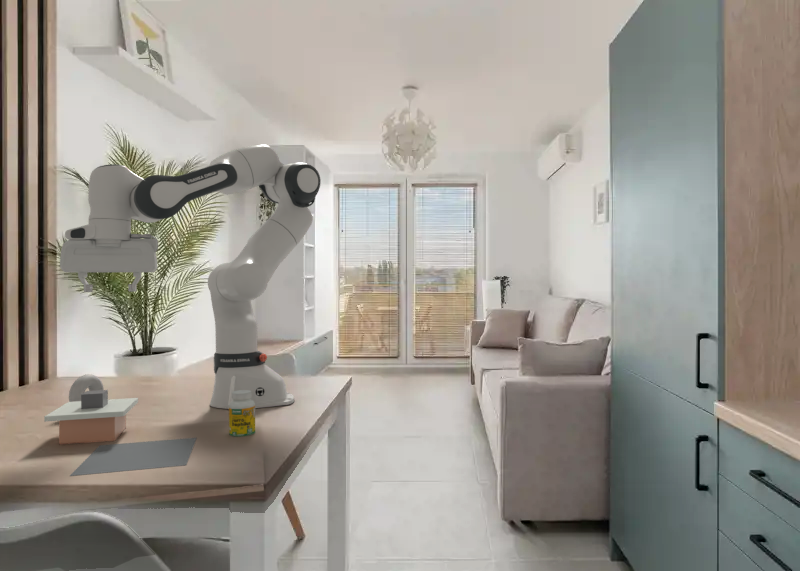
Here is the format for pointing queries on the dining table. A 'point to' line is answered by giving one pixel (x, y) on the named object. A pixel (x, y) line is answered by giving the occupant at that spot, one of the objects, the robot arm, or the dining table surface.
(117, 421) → the orange open box
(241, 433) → the supplement bottle
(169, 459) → the mat
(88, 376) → the donut
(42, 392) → the dining table surface
